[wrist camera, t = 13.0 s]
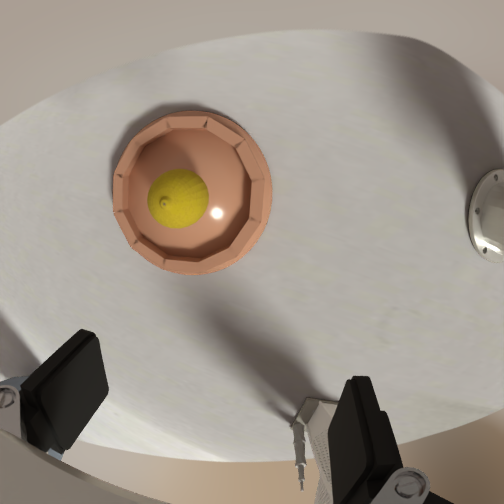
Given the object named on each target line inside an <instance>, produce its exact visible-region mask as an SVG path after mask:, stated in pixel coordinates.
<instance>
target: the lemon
mask: <svg viewBox="0 0 504 504" xmlns="http://www.w3.org/2000/svg"><path fill="white" fill-rule="evenodd" d="M147 203H148V208H149V211H150V213H151V215H152V217H153V218H154V219H155V220H156V221H157V222H158V223H159V224H161V225H163V226H165V227H169V228H178V229H180V228H184V227H188V226H190V225H192V224H194V223H196V222H197V221H198V220H199V219H200V218H201V217H202V216H203V214H204V213H205V211H206V209H207V206H208V203H209V193H208V188H207V186H206V184H205V182H204V181H203V179H202V178H201V177H200V176H199V175H197V174H196V173H195V172H192V171H190V170H187V169H173V170H169V171H167V172H165V173H163V174H161V175H160V176H159V177H158V178H157V179H156V180H155V181H154V182H153V184H152V185H151V187H150V189H149V192H148V197H147Z"/></svg>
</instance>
